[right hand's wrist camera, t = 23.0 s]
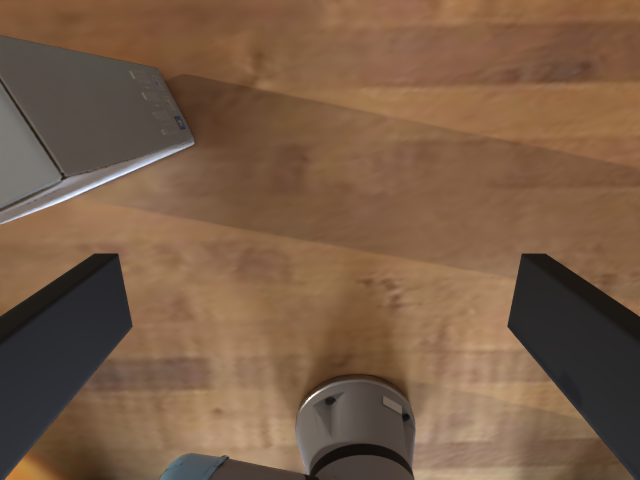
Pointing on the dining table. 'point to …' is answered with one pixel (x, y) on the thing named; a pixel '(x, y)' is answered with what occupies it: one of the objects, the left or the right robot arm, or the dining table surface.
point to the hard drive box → (77, 123)
